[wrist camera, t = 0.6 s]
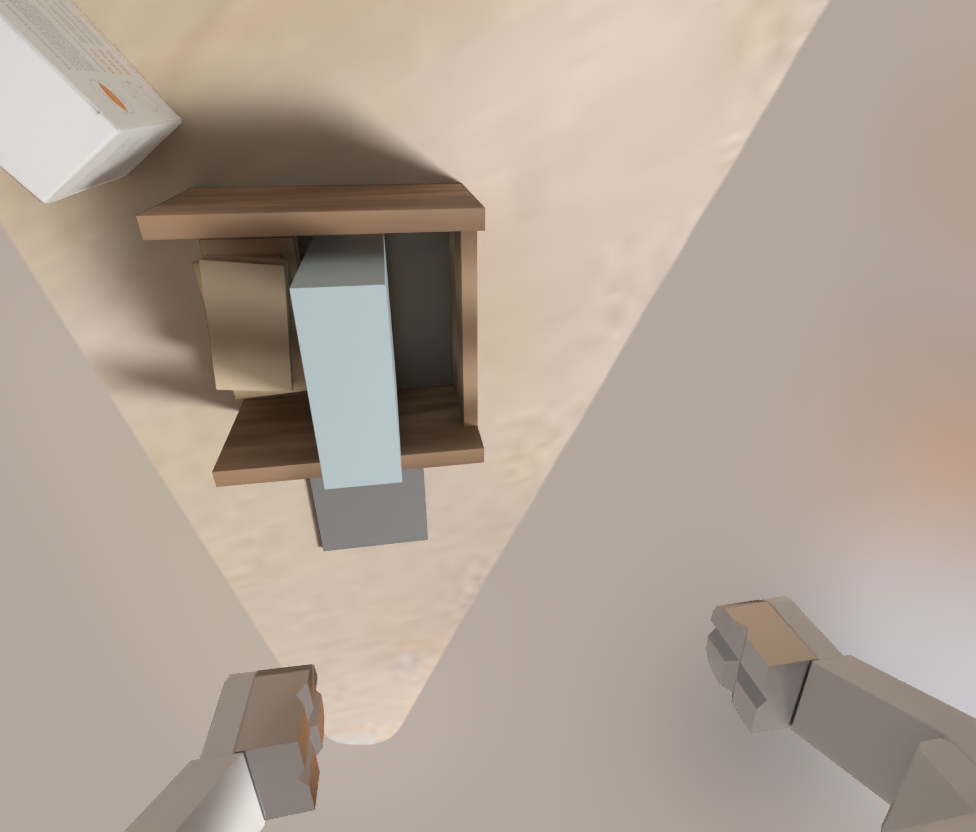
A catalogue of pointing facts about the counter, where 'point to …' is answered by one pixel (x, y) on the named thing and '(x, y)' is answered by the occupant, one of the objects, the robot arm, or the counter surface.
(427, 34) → the counter surface
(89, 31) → the small box
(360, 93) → the counter surface
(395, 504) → the rubber mat
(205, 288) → the offcut stack
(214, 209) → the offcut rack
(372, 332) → the pale blue upright block
